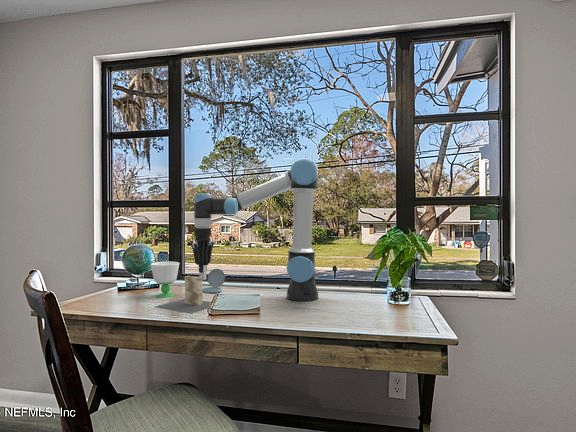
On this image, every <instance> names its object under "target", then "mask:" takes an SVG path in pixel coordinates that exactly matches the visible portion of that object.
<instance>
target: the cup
mask: <svg viewBox="0 0 576 432" xmlns="http://www.w3.org/2000/svg"><path fill="white" fill-rule="evenodd" d="M179 267H180V262H178V261H156V262H152V263H151V264H150V270H151V272H152V277H153V281H154V282H155V283H156V284H159V285H161V287H160V291H161V293H158V294H156V295H155V297H156V298H170V297H174V296H175V295H176V294H175V293H172V292H170V291H171V286H170V284H173V283H174V282H175V281H177V279H178V273H179Z"/></svg>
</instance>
